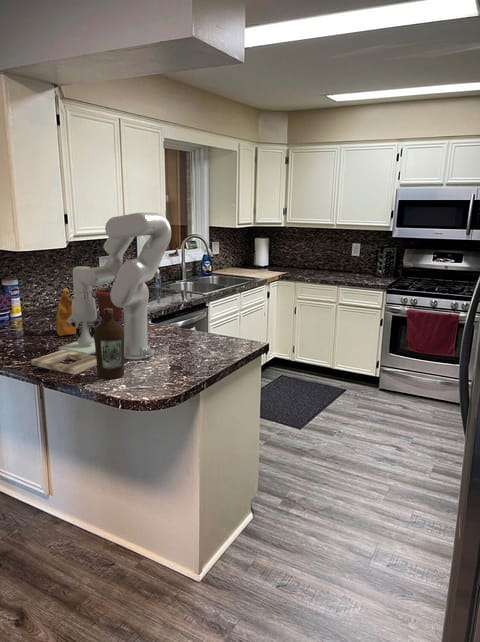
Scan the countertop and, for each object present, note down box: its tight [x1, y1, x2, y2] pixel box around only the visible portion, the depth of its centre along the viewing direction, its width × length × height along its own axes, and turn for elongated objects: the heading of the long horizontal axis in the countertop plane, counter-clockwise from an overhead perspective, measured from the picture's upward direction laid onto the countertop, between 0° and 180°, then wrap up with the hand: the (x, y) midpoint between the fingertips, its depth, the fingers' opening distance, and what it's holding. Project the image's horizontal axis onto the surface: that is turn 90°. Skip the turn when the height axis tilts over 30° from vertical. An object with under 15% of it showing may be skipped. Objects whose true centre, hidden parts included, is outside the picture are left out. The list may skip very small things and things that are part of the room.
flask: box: [76, 322, 95, 344], centre depth 201 cm, size 7×7×10 cm
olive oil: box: [93, 308, 125, 380], centre depth 167 cm, size 11×11×25 cm
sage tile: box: [57, 341, 96, 355], centre depth 203 cm, size 16×16×1 cm
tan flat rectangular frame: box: [31, 350, 97, 375], centre depth 181 cm, size 22×16×2 cm
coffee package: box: [55, 287, 76, 337], centre depth 223 cm, size 10×12×22 cm
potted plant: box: [94, 283, 125, 323], centre depth 252 cm, size 18×22×25 cm
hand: (85, 335), depth 201 cm, fingers closed on flask, 5 cm apart
